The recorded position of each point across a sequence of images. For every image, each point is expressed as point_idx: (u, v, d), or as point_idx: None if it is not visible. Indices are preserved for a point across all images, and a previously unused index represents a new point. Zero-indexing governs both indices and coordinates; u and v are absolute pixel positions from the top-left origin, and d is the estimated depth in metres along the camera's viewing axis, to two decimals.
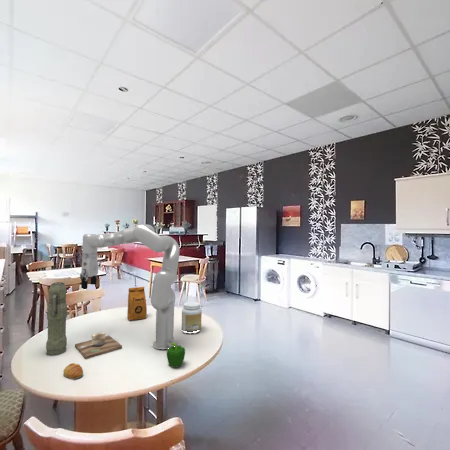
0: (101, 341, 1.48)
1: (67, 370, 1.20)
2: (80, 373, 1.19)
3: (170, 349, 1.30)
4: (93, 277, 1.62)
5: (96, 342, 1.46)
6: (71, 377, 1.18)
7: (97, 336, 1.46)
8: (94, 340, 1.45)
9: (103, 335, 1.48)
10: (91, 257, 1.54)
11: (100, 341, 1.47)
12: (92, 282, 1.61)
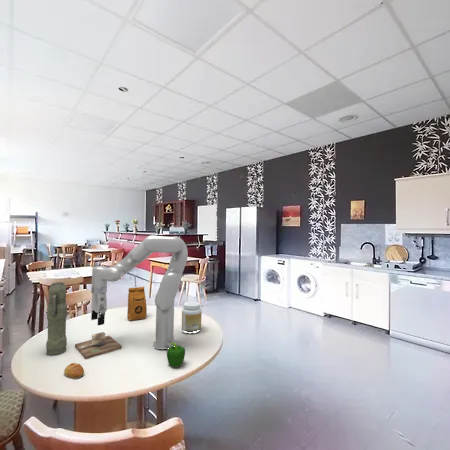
0: (101, 341, 1.48)
1: (68, 370, 1.20)
2: (81, 373, 1.20)
3: (170, 349, 1.31)
4: (95, 312, 1.51)
5: (96, 342, 1.46)
6: (72, 376, 1.18)
7: (97, 336, 1.46)
8: (94, 340, 1.45)
9: (103, 335, 1.48)
10: (105, 291, 1.48)
11: (100, 341, 1.47)
12: (94, 317, 1.51)
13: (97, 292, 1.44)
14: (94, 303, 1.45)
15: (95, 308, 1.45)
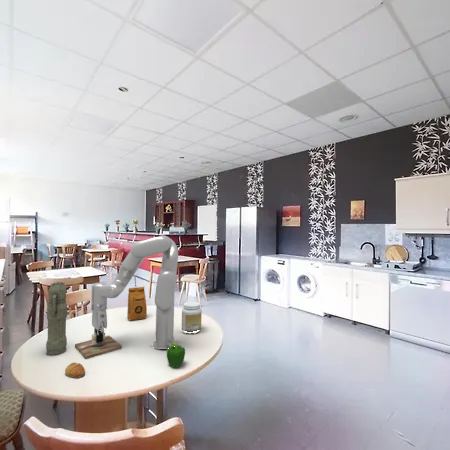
0: None
1: (69, 369, 1.21)
2: (82, 372, 1.20)
3: (170, 349, 1.30)
4: None
5: None
6: (73, 376, 1.19)
7: None
8: (94, 340, 1.45)
9: (103, 335, 1.48)
10: (105, 307, 1.48)
11: None
12: None
13: (97, 309, 1.44)
14: (94, 320, 1.45)
15: (96, 325, 1.45)
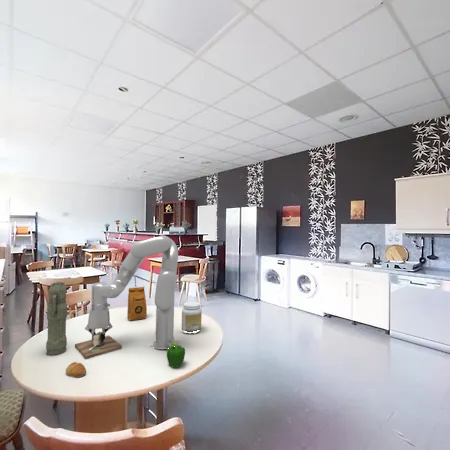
0: None
1: (70, 369, 1.21)
2: (83, 371, 1.21)
3: (170, 349, 1.30)
4: None
5: (99, 342, 1.46)
6: (74, 375, 1.19)
7: (99, 336, 1.47)
8: (98, 340, 1.45)
9: None
10: None
11: None
12: None
13: (104, 308, 1.47)
14: (100, 320, 1.46)
15: (102, 324, 1.46)
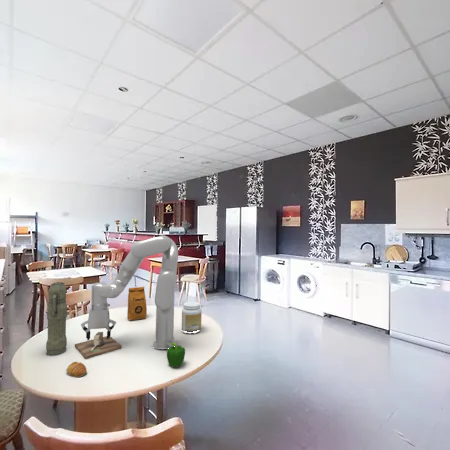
0: (101, 340, 1.49)
1: (71, 368, 1.21)
2: (84, 371, 1.21)
3: (170, 349, 1.30)
4: (89, 331, 1.47)
5: (99, 342, 1.47)
6: (75, 375, 1.19)
7: (100, 336, 1.47)
8: (99, 340, 1.45)
9: (102, 334, 1.50)
10: None
11: (101, 340, 1.49)
12: (89, 337, 1.47)
13: (104, 308, 1.47)
14: (100, 320, 1.46)
15: (102, 324, 1.46)
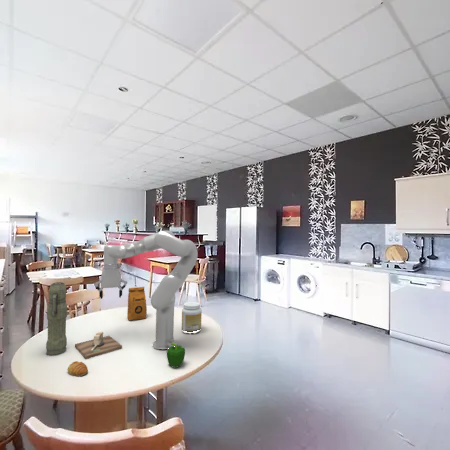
0: (101, 340, 1.49)
1: (72, 368, 1.22)
2: (85, 370, 1.22)
3: (170, 349, 1.30)
4: None
5: (99, 342, 1.47)
6: (76, 374, 1.20)
7: (100, 336, 1.47)
8: (99, 340, 1.46)
9: (102, 334, 1.50)
10: None
11: (101, 340, 1.49)
12: (102, 296, 1.54)
13: (116, 268, 1.55)
14: (112, 279, 1.54)
15: (115, 283, 1.55)
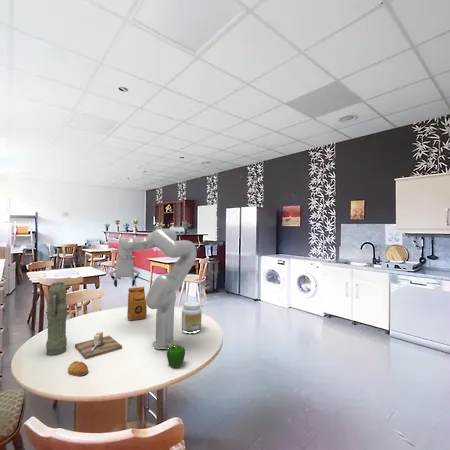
0: (101, 340, 1.49)
1: (72, 368, 1.22)
2: (86, 370, 1.22)
3: (170, 349, 1.30)
4: (116, 279, 1.66)
5: (99, 342, 1.47)
6: (77, 374, 1.20)
7: (100, 336, 1.47)
8: (99, 340, 1.46)
9: (102, 334, 1.50)
10: None
11: (101, 340, 1.49)
12: (116, 284, 1.66)
13: (130, 259, 1.66)
14: (126, 269, 1.65)
15: (128, 273, 1.66)
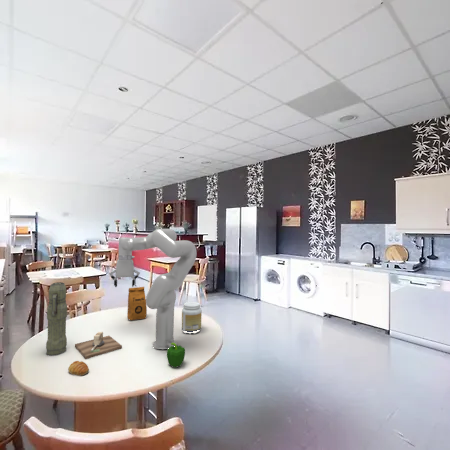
0: (101, 340, 1.49)
1: (73, 367, 1.22)
2: (86, 369, 1.22)
3: (170, 349, 1.31)
4: (116, 279, 1.66)
5: (99, 342, 1.47)
6: (78, 373, 1.20)
7: (100, 336, 1.47)
8: (99, 340, 1.46)
9: (102, 334, 1.50)
10: None
11: (101, 340, 1.49)
12: (116, 284, 1.66)
13: (130, 259, 1.66)
14: (126, 269, 1.65)
15: (128, 273, 1.66)
